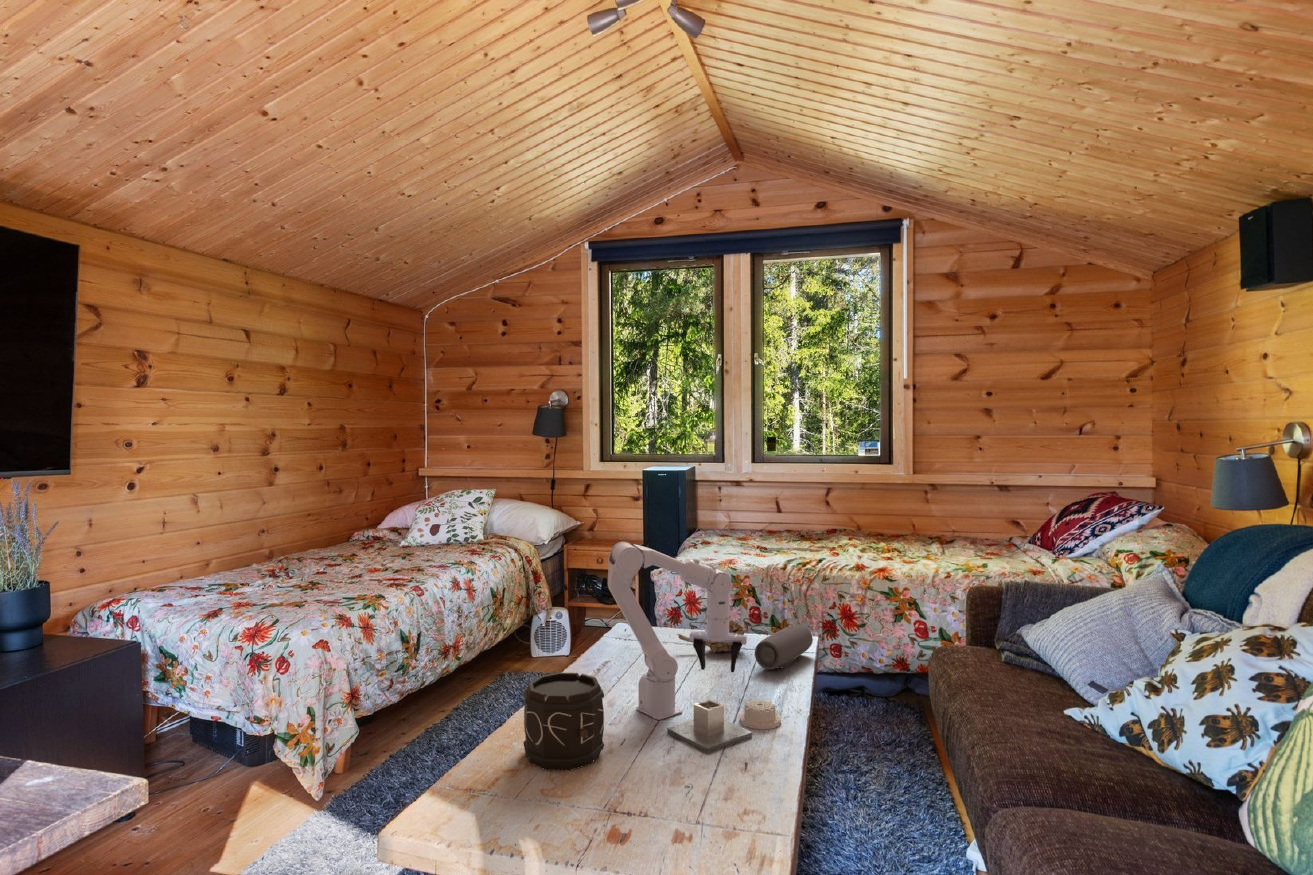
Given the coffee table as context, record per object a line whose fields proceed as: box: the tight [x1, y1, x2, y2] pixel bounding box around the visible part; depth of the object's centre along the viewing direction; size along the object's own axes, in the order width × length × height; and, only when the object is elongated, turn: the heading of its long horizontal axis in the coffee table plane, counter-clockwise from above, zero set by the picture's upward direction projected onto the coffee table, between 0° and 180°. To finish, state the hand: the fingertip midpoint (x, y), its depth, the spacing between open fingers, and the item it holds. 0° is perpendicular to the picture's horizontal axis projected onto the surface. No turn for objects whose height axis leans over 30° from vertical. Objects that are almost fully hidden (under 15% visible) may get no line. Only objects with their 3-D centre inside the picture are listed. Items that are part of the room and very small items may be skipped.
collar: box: [693, 699, 725, 736], centre depth 178 cm, size 5×5×6 cm
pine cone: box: [676, 620, 746, 653], centre depth 242 cm, size 22×10×10 cm, turn 98°
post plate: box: [666, 719, 753, 754], centre depth 178 cm, size 14×14×4 cm
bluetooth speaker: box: [754, 623, 814, 670], centre depth 231 cm, size 23×9×10 cm, turn 144°
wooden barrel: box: [522, 672, 605, 771], centre depth 167 cm, size 18×18×16 cm
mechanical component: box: [738, 699, 781, 730], centre depth 186 cm, size 10×4×10 cm
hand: (717, 669), depth 196 cm, fingers open, 7 cm apart
